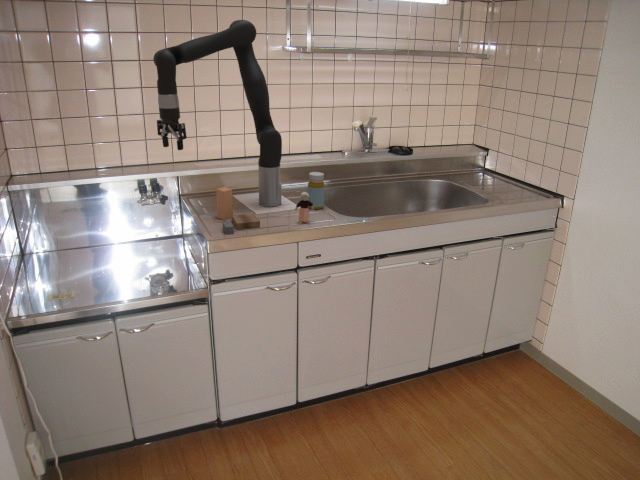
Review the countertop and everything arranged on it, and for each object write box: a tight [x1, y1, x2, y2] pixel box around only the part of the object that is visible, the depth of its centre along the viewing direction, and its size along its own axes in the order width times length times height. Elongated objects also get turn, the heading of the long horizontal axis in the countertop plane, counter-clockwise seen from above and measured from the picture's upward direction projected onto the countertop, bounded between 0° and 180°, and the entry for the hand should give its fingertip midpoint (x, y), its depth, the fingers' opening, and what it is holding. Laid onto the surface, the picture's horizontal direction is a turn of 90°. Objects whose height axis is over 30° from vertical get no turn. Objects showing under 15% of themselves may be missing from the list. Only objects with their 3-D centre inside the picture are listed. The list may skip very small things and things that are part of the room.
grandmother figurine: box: [294, 191, 315, 225], centre depth 206 cm, size 8×4×13 cm, turn 114°
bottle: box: [307, 171, 325, 211], centre depth 223 cm, size 7×7×15 cm
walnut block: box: [231, 213, 261, 231], centre depth 203 cm, size 9×9×3 cm
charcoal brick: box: [222, 220, 235, 235], centre depth 196 cm, size 3×6×3 cm, turn 21°
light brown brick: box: [215, 186, 234, 221], centre depth 208 cm, size 4×4×12 cm
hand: (173, 148), depth 203 cm, fingers open, 8 cm apart
